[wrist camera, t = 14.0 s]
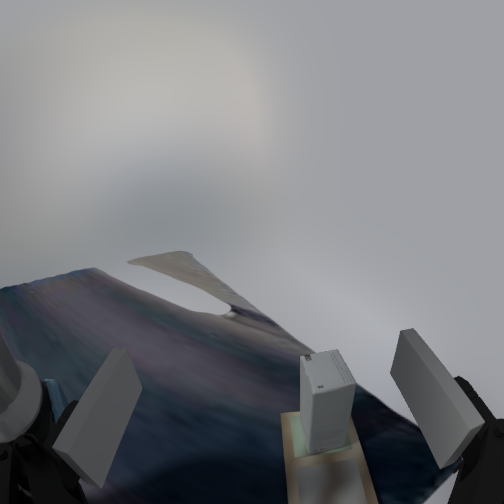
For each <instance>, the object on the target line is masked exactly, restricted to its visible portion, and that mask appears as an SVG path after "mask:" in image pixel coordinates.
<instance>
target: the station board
mask: <svg viewBox="0 0 504 504" xmlns="http://www.w3.org/2000/svg"><path fill="white" fill-rule="evenodd" d="M281 425H282V435H283V447H284V458H285V470H286V482H287V494H288V504H378V501H377V497H376V494H375V491H374V487H373V484H372V480H371V477H370V474H369V470H368V467H367V464H366V461H365V457H364V454H363V451H362V448H361V445H360V441H359V438H358V435H357V432H356V429H355V426H354V423H353V420H352V417H351V415H350V421H349V426H348V430H347V435H346V439H345V444H344V446H343V447H341V448H337V449H333V450H328V451H323V452H318V453H313V454H309V453H308V449H307V445H306V442H305V439H304V435H303V432H302V427H301V423H300V412H290V413H281Z"/></svg>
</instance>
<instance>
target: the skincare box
mask: <svg viewBox="0 0 504 504" xmlns="http://www.w3.org/2000/svg"><path fill="white" fill-rule="evenodd" d="M355 387H356V381H355V379H354V377H353V376H352V374H351V372H350V370H349V368H348V367H347V365H346V363H345V362H344V360H343V358H342V356H341V354H340V353H339V351H338V350H337V349H336V350H331V351H326V352H321V353H315V354H310V355H305V356H301V357H300V423H301V427H302V432H303V435H304V439H305V442H306V445H307V449H308V453H309V454H313V453H318V452H323V451H328V450H333V449H337V448H341V447H343V446H344V444H345V439H346V435H347V430H348V426H349V421H350V415H351V410H352V404H353V399H354V393H355Z"/></svg>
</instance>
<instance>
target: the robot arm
mask: <svg viewBox="0 0 504 504" xmlns="http://www.w3.org/2000/svg"><path fill="white" fill-rule="evenodd" d="M390 374H391V376H392V377H393V379H394V381H395V383H396V385H397V386H398V388H399V390H400V391H401V394H402V395H403V397H404V399H405V401H406V403H407V405H408V407H409V408H410V410H411V412H412V414H413V416H414V418H415V420H416V421H417V424H418V426H419V428H420V429H421V431H422V433H423V435H424V437H425V439H426V441H427V443H428V445H429V447H430V449H431V452H432V454H433V456H434V458H435V460H436V462H437V464H438V466H439V468H440V469H442V468H444V467H446V466H448V465H451V464H453V463H455V461H456V460H457V459H458V458H459V457H460V455H461V456H462V458H463V460H462V462H461V463H460V464H459V465H458V466H457V467H456V468H455V470H454V472H453V473H454V474H455V473H456V472H457V471H458V470H459V471H458V475H457V478H456V481H455V484H454V487H453V490H452V493H451V495H450V498H449V501H448V504H504V419H496V418H495V417H494V416H493V414H492V413H491V411H490V410H489V409H488V407H487V406H486V405H485V403H484V402H483V401H482V399H481V398H480V397H478V394H477V393H476V391H474V389H473V388H472V386H471V385H470V384H469V382H468V381H466V380H465V379H463V378H462V377H460V376H457V377H455V378H453V377H452V376H451V374H450V373H449V372H448V370H447V369H446V368H445V367H444V365H443V364H442V363H441V362H440V360H439V359H438V358H437V356H436V355H435V354H434V353H433V351H432V350H431V349H430V348H429V347H428V345H427V344H426V343H425V342H424V340H423V339H422V338H421V337H420V336H419V335H418V333H417V332H416V331H415V330H414V329H413V328H412V329H407V330H402V331H400V335H399V339H398V344H397V348H396V352H395V356H394V360H393V364H392V368H391V372H390ZM142 389H143V388H142V386H141V383H140V381H139V378H138V376H137V373H136V371H135V368H134V366H133V363H132V360H131V358H130V355H129V352H128V349H127V348H117V347H114V348H113V350H112V351H111V353H110V354H109V356H108V357H107V359H106V360H105V362H104V363H103V365H102V366H101V368H100V369H99V371H98V372H97V374H96V375H95V377H94V378H93V380H92V382H91V383H90V385H89V386H88V388H87V390H86V391H85V393H84V394H83V396H82V398H81V399H80V401H75V400H74V401H72V402H71V403H70V404H68V401H67V399H66V396H65V394H64V392H63V390H62V388H61V386H60V384H59V382H58V381H56V380H54V379H50V380H49V379H45V380H44V382H41V380H40V379H39V377H38V375H37V374H36V372H35V371H34V370H33V368H31V367H30V366H29V365H27V364H26V363H24V362H21V361H18V360H14V358H13V356H12V355H11V353H10V351H9V349H8V347H7V346H6V344H5V342H4V340H3V338H2V336H1V334H0V504H88V502H87V499H86V497H85V495H84V492H83V490H82V487H81V485H80V484H79V482H78V481H79V479H80V478H81V479H82V480H83V481H84V482H86V483H87V484H89V485H92V486H95V487H98V488H101V489H102V487H103V485H104V482H105V479H106V477H107V474H108V471H109V469H110V466H111V464H112V461H113V458H114V456H115V453H116V451H117V448H118V446H119V443H120V441H121V438H122V436H123V433H124V431H125V429H126V426H127V424H128V421H129V419H130V417H131V414H132V412H133V409H134V407H135V405H136V402H137V400H138V398H139V396H140V393H141V391H142Z"/></svg>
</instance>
